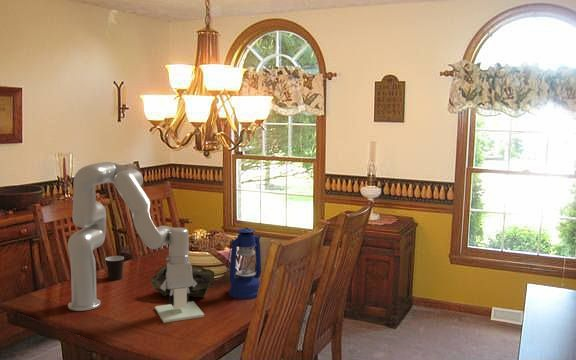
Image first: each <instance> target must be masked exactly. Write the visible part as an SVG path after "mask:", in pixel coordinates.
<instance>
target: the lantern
mask: <svg viewBox="0 0 576 360" xmlns="http://www.w3.org/2000/svg"><path fill="white" fill-rule="evenodd" d="M236 231H237V232H238V235H237V238H235V239H234V240H233V239H232V240H231V242H230V249H229V252H228V258H227V263H226V266H228V265H229V260H230V265H229V267H230V268H229V267H226V269H227V270H226V271H227V272H228V273H229V282H230V288H229V289H228V295H229V297H231V298H234V299H238V300H239V299H240V300H251V299H256V297H257V293H258V288H259V284H260V285H261V281H260V279H259V278H261V275H262V262H261V261H262V260H261V257H262V256H261V243H260V239H261V235H255V234H254V233H255V232H256V230H255V229H253V228H250V227H244V228H239V229H237V230H236ZM237 249H238V250H237ZM250 256H251V258H250ZM254 256H255V263H254V266H253V267H252V268H251V269H248V267H249V265H250V264H251V262H252V261H253V257H254ZM239 257H246V258H247V257H248V259H249V260H250V261H247V262H245V264H247V263H248V264H247V266H246V267H244V268H241V269H239V270H238V269H237V268H238V266H237V267H236V261H237V258H239ZM228 268H229V269H228ZM253 269H254V270H253ZM257 298H258V297H257Z"/></svg>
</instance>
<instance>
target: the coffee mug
mask: <svg viewBox="0 0 576 360" xmlns="http://www.w3.org/2000/svg"><path fill="white" fill-rule="evenodd" d="M124 263H125V257H124V256H121V255H114V256H113V255H112V256H107V257H106V258H105V266H106V267H105V268H106V274H107V280H108V281H113V282H116V281H121V280H122V279H123V275H124V274H123V271H124Z"/></svg>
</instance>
